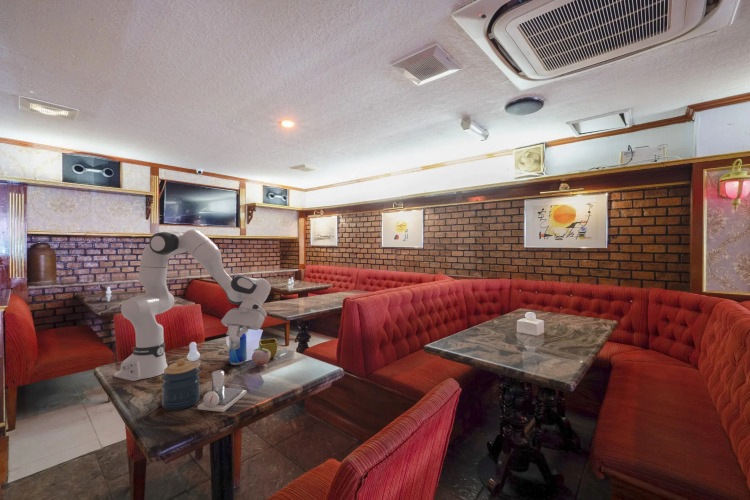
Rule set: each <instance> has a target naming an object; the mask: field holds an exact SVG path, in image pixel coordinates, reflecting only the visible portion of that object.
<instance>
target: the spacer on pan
mask: <svg viewBox="0 0 750 500" xmlns="http://www.w3.org/2000/svg"><path fill="white" fill-rule="evenodd" d="M224 388H225V370H223V369H218V370H214V371H212V372H211V391H214V392H216V393H217V394H218V396H219V399H222V398H224Z"/></svg>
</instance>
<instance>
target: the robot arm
mask: <svg viewBox="0 0 750 500" xmlns="http://www.w3.org/2000/svg"><path fill="white" fill-rule="evenodd" d="M187 253H189V254H190V256H192V258H194V260H195V261H196V262H197V263H198V264H200V265H201V266H202V267H203V268H204V270H205V271H206V272H207V273H208V274H209V275H210V277H211V278H213V280H214V281H215V282H216V283H217V284H218V285H219V287H220V288H221V289H222V291H224V293H225V295H226V298H227V300H228V302H229V303H231V304H232V305H235V306H238V307H233V308H231V309H230V310H228V311H227V312H226V313H225V314H224V316H223V318H221V324H222V325H223V326H225V327H227V331H226V333H225V334H226V336H228V337H229V326H230V325H234V324H235V325H240V329H241V330H240V332H238V333H237V336H238V337H242V335H243V334H244V333H245V334H246V333H247V332H248V330H255V331H258V330H260V329H261V327H262V326H263V323H264V322H265V320H266V319H265V318H266V317H267V316H268V313H267V312H266V310H265V309H264V308H263V304H264V303H265V301H266V300H267V299H268V296H269V295H270V292H271V289H272V286H271V283H270V282H269V280H267V279H265V278H262V277H258V278H256V277H255V278H253V277H248V276H247V275H244V274H243V275H242V274H240V275H236V276H235V277H233V278H232V277H231V276H230V275H229V274H228V273H227V272H226V270H225V268H224V264H223V260H222V258H223V257H222V252H221V250H220V249H219V247H218V246H217V245H216V243H214V241H212V240H211V239H210V238H209V237H208V236H207V235H205V234H204V233H203V232H201V231H199V230H198V229H194V228H192V229H189V230H186V231H185V232H183V231H182V232H180V231H160V232H157V233H154V234H152V236H150V238H149V241H148V244H147V245H146V246H145V247H144V248H143V251H142V255H141V259H140V263H139V272H138V282H139V283H140V284H141V285H142V286H143V287H144V289H145V290H144V291H145V294H140V295H136V296H133V297H130V298H128V299H126V300H124V301H123V302H122V303H121V306H120V313H121V315H122V316H123V318H124V319H126V320H128V321H130V322H131V324H132V326H133V329H134V332H135V333H134V334H135V346H133V347H131V348H130V350H131V351H132V353H131V354H130V355H129V356H128V357H127V358H125V359H124V360H123V361H121V364H120V368H119V369H120V370H118V371H116V372H115V373H114V374H113V377H115V378H118V379H123V380H127V381H131V382H135V381H139V380H143V379H150V378H154V377H157V376H160V375H161V376H162V375H163V374H164V373H165V372H164V370H165V369H166V368H167V367H168V366H169V365H168V363H167V359H166V352H165V349H166V344H165V339H164V326H163V325H162V324H160V323H159V322H157V320H156V315H160V314H163V313H166V312H167V311H169V310H170V309H172V308H173V307H174V306H175V301H176V300H175V297H174V295H173V294H172V293H171V292H170V290H169V288H168V285H167V284H168V283H167V278H168V277H167V276H168V266H169V258H170V257H171V256H174V255H175V256H176V255H177V256H178V255H183V254H187Z"/></svg>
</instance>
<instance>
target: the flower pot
mask: <svg viewBox="0 0 750 500" xmlns="http://www.w3.org/2000/svg"><path fill="white" fill-rule="evenodd" d="M258 344H259V348H260V349H261V347H262V348H265V349H268V350H269V351H270V353H271V357H270V359H273V358H275V356H276V354H277V352H278V341H277V339H276V338H268V339H262V340H261V339H260V340H258Z"/></svg>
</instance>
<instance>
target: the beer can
mask: <svg viewBox="0 0 750 500" xmlns="http://www.w3.org/2000/svg"><path fill="white" fill-rule="evenodd" d="M228 350H229V351H228V352H229V355H228V362H229V363H230V364H231V365H232V366H238V365H243V364H244V363H245V362H246V360H247V355H248V354H247V334H246V332H245V333H244V334H243V335H242V337H240V348H239V349H236V350H230V349H229V348H228Z"/></svg>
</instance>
